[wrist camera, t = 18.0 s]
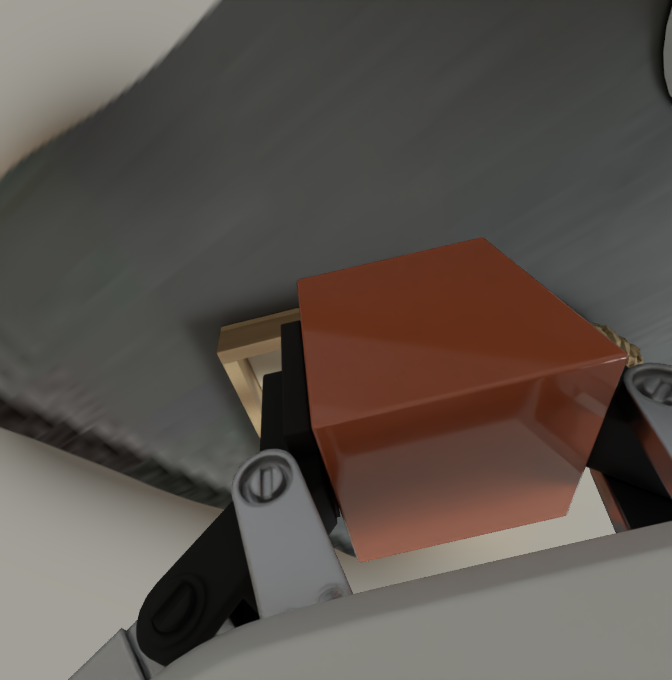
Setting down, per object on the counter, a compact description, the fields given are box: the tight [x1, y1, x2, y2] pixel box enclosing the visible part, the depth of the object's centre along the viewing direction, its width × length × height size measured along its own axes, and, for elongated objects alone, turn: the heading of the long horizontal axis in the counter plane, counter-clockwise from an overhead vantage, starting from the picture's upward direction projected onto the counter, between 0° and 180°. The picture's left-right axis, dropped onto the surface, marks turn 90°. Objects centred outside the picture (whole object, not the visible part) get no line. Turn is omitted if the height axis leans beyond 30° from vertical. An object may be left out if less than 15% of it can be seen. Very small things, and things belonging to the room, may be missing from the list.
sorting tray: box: [217, 308, 301, 438], centre depth 31 cm, size 20×16×3 cm
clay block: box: [297, 237, 628, 562], centre depth 9 cm, size 5×5×5 cm
